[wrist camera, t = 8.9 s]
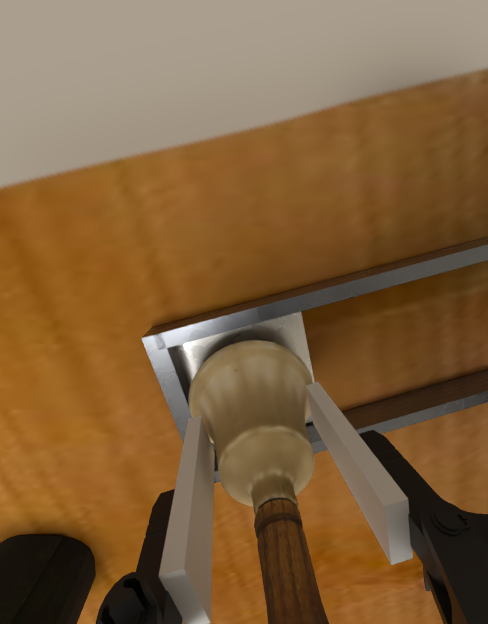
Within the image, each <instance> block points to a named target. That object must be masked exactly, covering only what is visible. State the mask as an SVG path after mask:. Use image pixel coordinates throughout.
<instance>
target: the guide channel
mask: <svg viewBox="0 0 488 624" xmlns="http://www.w3.org/2000/svg"><path fill="white" fill-rule="evenodd" d="M487 260H488V237H486V238H482V239H479V240H475V241H471V242H468V243H464V244H460V245H456V246H453V247H449V248H445V249H442V250H438V251H434V252H431V253H427V254H423V255H419V256H416V257H412V258H408V259H405V260H401V261H397V262H393V263H390V264H386V265H382V266H379V267H375V268H371V269H368V270H364V271H360V272H356V273H353V274H349V275H345V276H342V277H338V278H334V279H331V280H327V281H323V282H319V283H316V284H312V285H308V286H305V287H301V288H297V289H294V290H290V291H286V292H282V293H279V294H275V295H271V296H268V297H264V298H260V299H257V300H253V301H249V302H245V303H242V304H238V305H234V306H231V307H227V308H223V309H220V310H216V311H212V312H208V313H205V314H201V315H197V316H194V317H190V318H186V319H183V320H179V321H175V322H171V323H168V324H164V325H160V326H157V327H153V328H151V329H150V330H149V331H148V332H147V333H146V334H145V335H144V336H143V337H142V341H143V343H144V346H145V348H146V351H147V353H148V356H149V358H150V361H151V363H152V366H153V368H154V371H155V373H156V376H157V378H158V381H159V383H160V386H161V388H162V391H163V393H164V396H165V398H166V401H167V403H168V406H169V409H170V411H171V414H172V416H173V419H174V421H175V424H176V426H177V429H178V431H179V434H180V436H181V439H182V441H183V444H184V439H185V434H186V428H187V423H188V419H190V418H192V416H191V413H190V409H189V390H190V386H191V383H192V380H193V378H194V376H195V374H196V373H197V371H198V369H199V368H200V366H201V365H202V364H203V363H204V362H205V361H206V360H207V359H208V358H209V357H210V356H212V355H213V354H214V353H215V352H217V351H219V350H220V349H222V348H224V347H226V346H228V345H231V344H235V343H238V342H242V341H249V340H261V341H270V342H274V343H277V344H279V345H282V346H284V347H286V348H288V349H290V350H291V351H293V352H294V353H295V354H296V355H298V356H299V357H300V358H301V360H302V361H303V362H304V363H305V365H306V366H307V368H308V370H309V372H310V374H311V377H312V381H313V383H315V381H314V376H313V371H312V366H311V361H310V355H309V350H308V345H307V340H306V335H305V329H304V324H303V319H302V314H301V311H304V310H308V309H311V308H315V307H319V306H322V305H326V304H330V303H333V302H337V301H341V300H344V299H348V298H351V297H355V296H359V295H362V294H366V293H370V292H373V291H377V290H381V289H384V288H388V287H392V286H395V285H399V284H403V283H406V282H410V281H414V280H417V279H421V278H425V277H428V276H432V275H435V274H439V273H443V272H446V271H450V270H454V269H457V268H461V267H465V266H468V265H472V264H476V263H479V262H483V261H487ZM486 402H488V370H484V371H481V372H477V373H474V374H471V375H467V376H464V377H460V378H457V379H453V380H450V381H447V382H443V383H440V384H436V385H433V386H429V387H426V388H423V389H419V390H416V391H412V392H409V393H405V394H402V395H398V396H395V397H392V398H388V399H385V400H381V401H378V402H374V403H371V404H368V405H364V406H361V407H357V408H354V409H350V410H347V411H344V412H342V413H343V415H344V416H345V417H346V419H347V420H348V421H349V423H350V424H351V425H352V427H353V428H354V429H355V430H356V432H357V433H358V434H360V433H363V432H366V431H370V430H375V431H376V432H378V433H380V434H382V433H385V432H388V431H392V430H395V429H399V428H402V427H405V426H409V425H412V424H415V423H419V422H422V421H426V420H429V419H432V418H436V417H439V416H442V415H446V414H449V413H452V412H456V411H459V410H463V409H466V408H469V407H473V406H476V405H479V404H483V403H486ZM306 429H307V432H308V436H309V439H310V442H311V445H312V448H313V452H314V453H318V452H321V451H324V450H328V449H327V447H326V446H325V444H324V442H323V440H322V438H321V436H320V435H319V433H318V431H317V429H316V427H315V426H314V424H313V419H312V414H311V412H310V415H309V417H308V419H307V421H306ZM211 444H212V447H213V449H214V452H215V459H214V483H217V482H220V478H219V473H218V465H217V457H216V451H215V447H214V444H213V443H211Z"/></svg>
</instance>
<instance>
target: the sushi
mask: <svg viewBox="0 0 488 624" xmlns="http://www.w3.org/2000/svg"><path fill="white" fill-rule="evenodd" d="M94 578H95V565H94V558H93V555H92V553H91V550H90V549H89V548H88V547H86V546H85V545H84V544H83V543H81V542H79V541H77V540H74V539H72V538H66V537H63V536H46V535H23V536H16V537H13V538H10V539H7V540H5V541H4V542H2V543H1V544H0V624H77V621H78V619H79V616H80V614H81V611H82V609H83V606H84V604H85V601H86V599H87V596H88V594H89V591H90V589H91V586H92V584H93V581H94Z"/></svg>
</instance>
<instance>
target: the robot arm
mask: <svg viewBox="0 0 488 624" xmlns="http://www.w3.org/2000/svg"><path fill="white" fill-rule="evenodd" d="M306 390H307V395H308V400H309V404H310V409H311V414H312V419H313V424H314V426H315V427H316V429H317V431H318V433H319V435H320V436H321V438H322V440H323V442H324V444H325V446H326V447H327V449H328V451H329V453H330V455H331V456H332V458H333V460H334V462H335V464H336V465H337V467H338V469H339V471H340V473H341V475H342V476H343V478H344V480H345V482H346V484H347V485H348V487H349V489H350V491H351V493H352V494H353V496H354V498H355V500H356V502H357V504H358V505H359V507H360V509H361V511H362V513H363V514H364V516H365V518H366V520H367V522H368V524H369V525H370V527H371V529H372V531H373V533H374V534H375V536H376V538H377V540H378V542H379V543H380V545H381V547H382V549H383V551H384V553H385V554H386V556H387V558H388V560H389V562H390V563H391V565H393V564H396V563H399V562H402V561H405V560H409V559H412V558H413V553H412V548H413V549H414V551H415V552H416V554H417V556H418V557H419V559H420V560H421V562H422V563H423V575H424V583H425V588H426V591H430V589H431V592H432V595H433V597H434V600H435V602H436V605H437V607H438V610H439V613H440V615H441V618H442V620H443V623H444V624H488V514H476V513H470V512H466V511H463V510H460V509H459V508H458V507H456V506H455V505H453V504H450V503H448V502H446V501H444V500H443V499H442V498H441V497H440V496H439V495H438V494H436V493H435V491H434V490H433V489H432V488H431V487H430V486H429V485H428V484H427V483H426V481H425V480H424V479H423V478H422V477H421V476H420V475H419V474H418V473H417V472H416V470H415V469H414V468H413V467H412V466H411V465H410V464H409V463H408V462H407V460H406V459H405V458H403V456H402V455H401V454H400V453H399V452H398V450H397V449H395V447H394V446H393V445H392V444H391V443H390V442H389V441H388V439H387V438H386V437H384V436H383V435H381V434H380V433H378V432H376V431H375V430H370V431H366V432H363V433H360V434H358V433H357V432H356V430H355V429H354V428H353V427H352V425H351V424H350V423H349V421H348V420H347V419H346V417H345V416H344V415H343V413H342V412H341V411H340V410H339V408H338V407H337V406H336V404H335V403H334V402H333V400H332V399H331V398H330V397H329V395H328V394H327V393H326V391H325V390H324V389H323V387H322V386H321V385H320V384H319V382H316V383H312V384H309V385H306ZM214 459H215V452H214V449H213V447H212V444H211V441H210V438H209V435H208V433H207V430H206V427H205V424H204V422H203V419H202V416H197V417H194V418H190V419H188V423H187V428H186V434H185V439H184V444H183V449H182V455H181V460H180V465H179V471H178V476H177V481H176V487H175V489H174V490H171V491H167V492H164V493H161V494H160V496H159V497H158V499H157V501H156V503H155V504H154V506H153V508H152V512H151V516H150V520H149V525H148V527H147V531H146V538H145V539H144V543H143V546H142V550H141V554H140V558H139V562H138V565H137V569H136V572H132V573H129V574H127V575H125V576H123V577H122V578H121V579H120V580H119V581H118V582H116V583H115V584H114V586H113V587H112V588H111V590H110V591H109V592H108V594H107V595H106V597H105V599H104V601H103V603H102V605H101V607H100V609H99V612H98V616H97V620H96V624H182V621H183V623H184V624H209V623H211V585H212V543H213V501H214Z"/></svg>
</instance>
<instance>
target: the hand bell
mask: <svg viewBox="0 0 488 624" xmlns="http://www.w3.org/2000/svg"><path fill="white" fill-rule="evenodd" d="M312 383H313V381H312V377H311V374H310V372H309V370H308V368H307V366H306V365H305V363H304V362H303V361H302V360H301V358H300V357H299V356H298V355H296V354H295V353H294V352H293V351H291V350H290V349H288V348H286V347H284V346H282V345H279V344H277V343H274V342H270V341H261V340H249V341H242V342H238V343H235V344H231V345H228V346H226V347H224V348H222V349H220V350H219V351H217V352H215V353H214V354H213V355H212V356H210V357H209V358H208V359H207V360H206V361H205V362H204V363H203V364H202V365H201V366H200V368H199V369H198V371H197V373H196V374H195V376H194V378H193V380H192V383H191V386H190V390H189V409H190V413H191V416H192V418H194V417H197V416H202V419H203V422H204V424H205V427H206V430H207V433H208V435H209V438H210V441H211V443H213V444H214V447H215V451H216V457H217V465H218V473H219V478H220V481H221V484H222V486H223V488H224V489H225V490H226V491H227V493H228V494H229V495H230V496H231V497H232V498H234V499H235V500H237V501H238V502H240V503H243V504H246V505H249V506H253V507H254V513H255V516H256V517H255V523H254V527H255V532H256V537H257V539H258V552H259V558H260V564H261V570H262V578H263V585H264V592H265V598H266V605H267V615H268V624H329V622H328V620H327V617H326V614H325V611H324V608H323V605H322V602H321V598H320V594H319V590H318V586H317V582H316V578H315V574H314V571H313V567H312V563H311V558H310V554H309V550H308V546H307V542H306V538H305V534H304V531H303V527H302V520H301V516H300V512H299V510H298V503H297V499H296V495H297V494H299V493H300V492H301V491H302V490H303V489H304V488H305V487H306V485H307V484H308V482H309V481H310V479H311V476H312V474H313V470H314V463H315V461H314V452H313V448H312V445H311V442H310V439H309V436H308V432H307V429H306V421H307V419H308V417H309V415H310V412H311V409H310V404H309V400H308V395H307V390H306V385H309V384H312Z"/></svg>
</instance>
